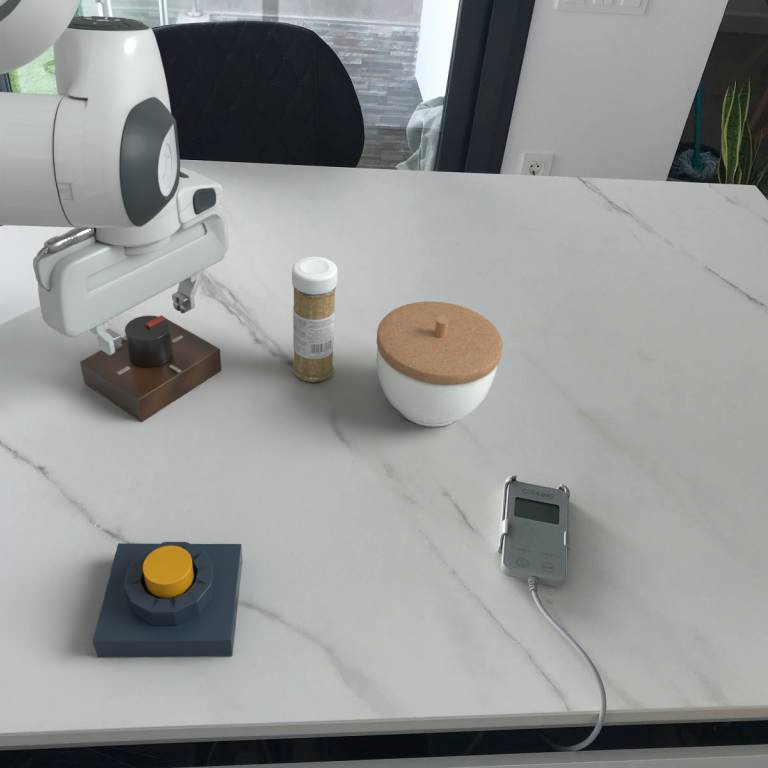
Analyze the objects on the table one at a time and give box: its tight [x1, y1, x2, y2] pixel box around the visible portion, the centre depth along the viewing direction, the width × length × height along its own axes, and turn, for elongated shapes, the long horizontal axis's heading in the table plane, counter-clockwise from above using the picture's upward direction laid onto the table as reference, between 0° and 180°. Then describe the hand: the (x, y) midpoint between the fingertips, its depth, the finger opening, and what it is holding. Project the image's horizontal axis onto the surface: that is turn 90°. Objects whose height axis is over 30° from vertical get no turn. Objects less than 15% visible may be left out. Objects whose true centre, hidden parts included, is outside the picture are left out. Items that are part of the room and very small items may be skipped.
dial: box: [124, 314, 173, 367], centre depth 80 cm, size 4×4×4 cm
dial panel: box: [79, 317, 222, 423], centre depth 82 cm, size 11×9×3 cm
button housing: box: [92, 541, 243, 658], centre depth 61 cm, size 10×9×4 cm
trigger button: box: [143, 546, 194, 598], centre depth 59 cm, size 4×4×2 cm
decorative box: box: [376, 301, 503, 428], centre depth 80 cm, size 13×13×11 cm
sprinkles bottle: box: [291, 256, 338, 383], centre depth 82 cm, size 5×5×14 cm
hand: (149, 328), depth 79 cm, fingers open, 8 cm apart
